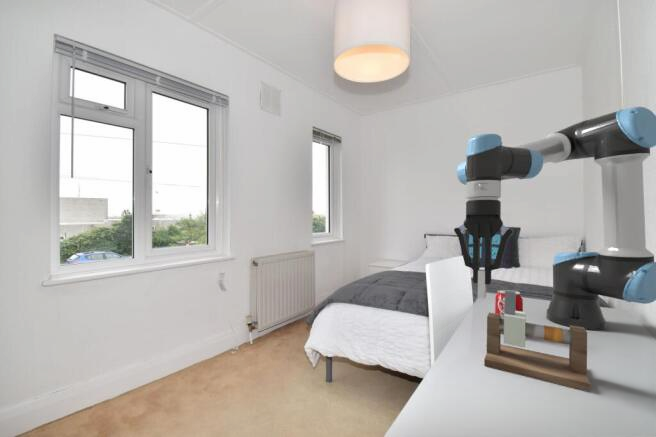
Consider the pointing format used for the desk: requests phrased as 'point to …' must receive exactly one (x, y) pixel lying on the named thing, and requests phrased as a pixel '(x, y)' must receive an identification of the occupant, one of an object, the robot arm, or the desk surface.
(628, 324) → the desk surface
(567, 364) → the pipe rig
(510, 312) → the collar
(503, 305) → the soda can
